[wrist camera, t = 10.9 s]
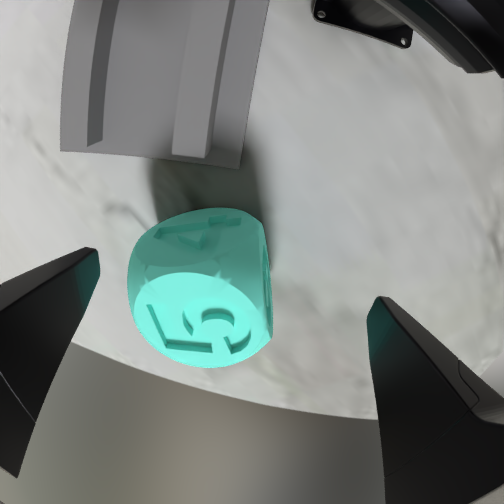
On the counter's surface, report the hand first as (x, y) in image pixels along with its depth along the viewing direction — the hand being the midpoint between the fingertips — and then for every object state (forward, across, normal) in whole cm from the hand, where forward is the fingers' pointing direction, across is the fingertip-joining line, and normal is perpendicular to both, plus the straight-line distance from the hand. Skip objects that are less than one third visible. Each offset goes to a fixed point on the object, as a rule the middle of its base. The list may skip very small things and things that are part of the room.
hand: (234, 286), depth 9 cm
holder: (+13, +8, -7) cm, 17 cm away
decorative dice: (+13, +2, +7) cm, 15 cm away
